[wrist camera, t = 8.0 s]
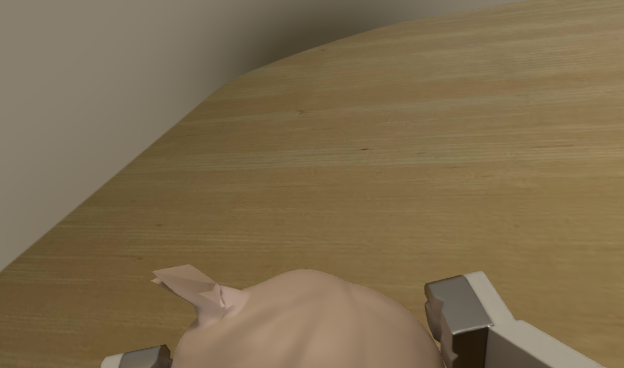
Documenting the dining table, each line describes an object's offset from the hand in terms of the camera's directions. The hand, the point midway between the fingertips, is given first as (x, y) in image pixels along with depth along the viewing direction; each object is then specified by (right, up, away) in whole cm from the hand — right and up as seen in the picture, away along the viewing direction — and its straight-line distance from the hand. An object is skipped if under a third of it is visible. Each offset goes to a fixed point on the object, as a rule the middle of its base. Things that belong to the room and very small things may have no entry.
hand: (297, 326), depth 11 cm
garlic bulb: (+1, -5, +2) cm, 5 cm away
